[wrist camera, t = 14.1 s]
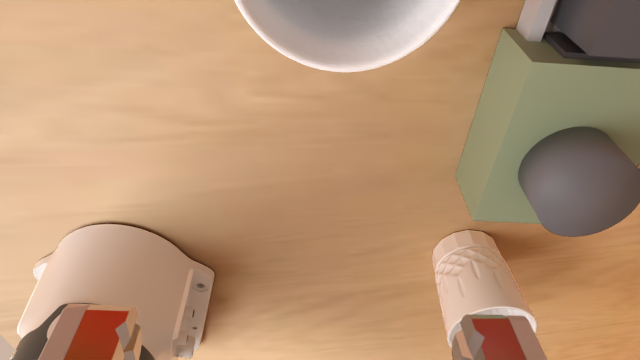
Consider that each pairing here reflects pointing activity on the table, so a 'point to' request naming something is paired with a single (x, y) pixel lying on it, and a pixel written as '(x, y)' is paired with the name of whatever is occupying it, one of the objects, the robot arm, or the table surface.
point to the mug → (346, 29)
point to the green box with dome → (553, 133)
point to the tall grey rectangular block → (601, 26)
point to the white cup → (475, 281)
